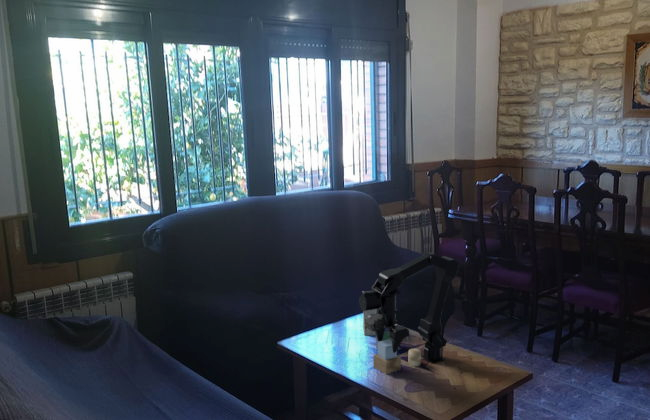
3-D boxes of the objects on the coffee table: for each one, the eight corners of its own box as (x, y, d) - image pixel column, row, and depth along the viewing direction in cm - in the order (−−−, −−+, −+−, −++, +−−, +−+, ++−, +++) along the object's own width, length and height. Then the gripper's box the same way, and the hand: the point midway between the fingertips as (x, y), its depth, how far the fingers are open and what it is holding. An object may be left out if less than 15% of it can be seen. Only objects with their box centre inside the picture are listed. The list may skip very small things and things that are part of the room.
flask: (377, 349, 216) (377, 323, 215) (374, 346, 219) (374, 320, 217) (398, 346, 219) (399, 320, 218) (395, 343, 222) (395, 318, 220)
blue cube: (377, 354, 200) (377, 341, 200) (388, 351, 203) (389, 339, 202) (385, 359, 196) (385, 346, 195) (396, 357, 198) (396, 344, 198)
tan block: (388, 362, 205) (388, 350, 204) (400, 369, 199) (400, 357, 198) (373, 367, 201) (373, 354, 200) (385, 375, 195) (386, 361, 195)
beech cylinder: (415, 360, 207) (415, 347, 206) (423, 364, 203) (423, 352, 202) (405, 362, 205) (406, 350, 204) (413, 367, 201) (413, 354, 200)
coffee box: (379, 335, 230) (379, 298, 227) (364, 335, 230) (364, 298, 227) (377, 327, 239) (378, 291, 236) (363, 327, 239) (363, 291, 236)
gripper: (354, 302, 200) (354, 342, 203) (383, 319, 184) (383, 362, 187) (380, 297, 206) (379, 337, 208) (410, 313, 190) (409, 355, 192)
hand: (387, 347), depth 199 cm, fingers open, 9 cm apart
